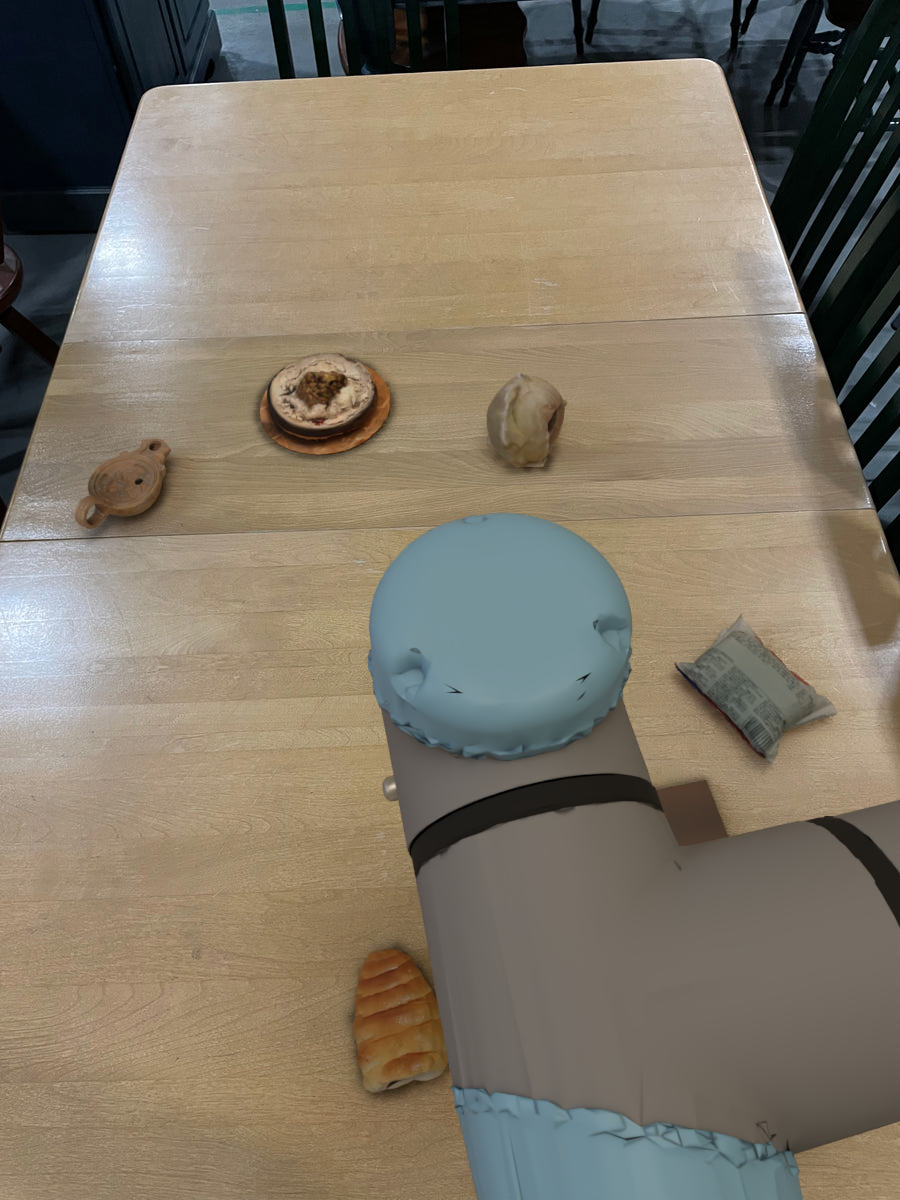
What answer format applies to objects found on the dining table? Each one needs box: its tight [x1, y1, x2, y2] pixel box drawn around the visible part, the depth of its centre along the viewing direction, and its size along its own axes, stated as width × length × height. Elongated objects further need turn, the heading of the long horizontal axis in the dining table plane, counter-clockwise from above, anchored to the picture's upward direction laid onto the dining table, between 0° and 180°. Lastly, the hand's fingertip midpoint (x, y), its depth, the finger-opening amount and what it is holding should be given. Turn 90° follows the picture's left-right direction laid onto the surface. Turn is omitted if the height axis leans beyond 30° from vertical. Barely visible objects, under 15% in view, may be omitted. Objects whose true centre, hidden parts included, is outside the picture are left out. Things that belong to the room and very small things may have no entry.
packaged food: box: [674, 613, 838, 765], centre depth 75 cm, size 9×12×5 cm
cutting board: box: [656, 779, 729, 846], centre depth 67 cm, size 16×24×1 cm, turn 102°
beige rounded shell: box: [486, 372, 568, 468], centre depth 90 cm, size 9×8×10 cm
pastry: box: [351, 948, 449, 1094], centre depth 62 cm, size 9×7×4 cm
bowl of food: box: [259, 352, 391, 456], centre depth 96 cm, size 15×15×4 cm
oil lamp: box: [74, 438, 172, 530], centre depth 89 cm, size 13×8×5 cm, turn 150°
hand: (483, 913), depth 56 cm, fingers closed on knife, 4 cm apart
